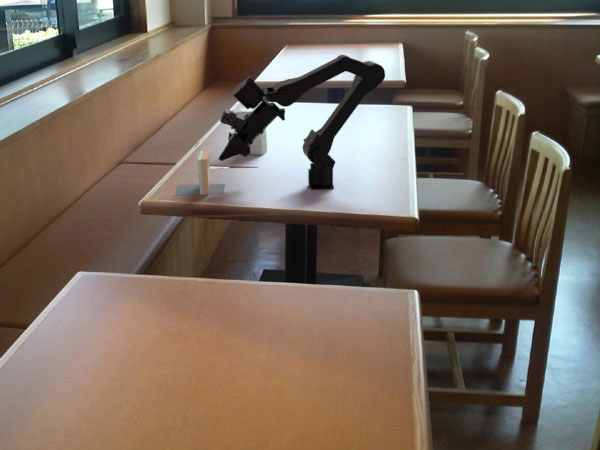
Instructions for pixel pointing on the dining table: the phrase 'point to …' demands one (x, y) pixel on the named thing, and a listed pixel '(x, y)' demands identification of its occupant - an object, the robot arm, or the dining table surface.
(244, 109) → the skincare box
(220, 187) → the mat
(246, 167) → the chocolate bar
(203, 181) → the tile
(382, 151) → the dining table surface
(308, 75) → the robot arm
